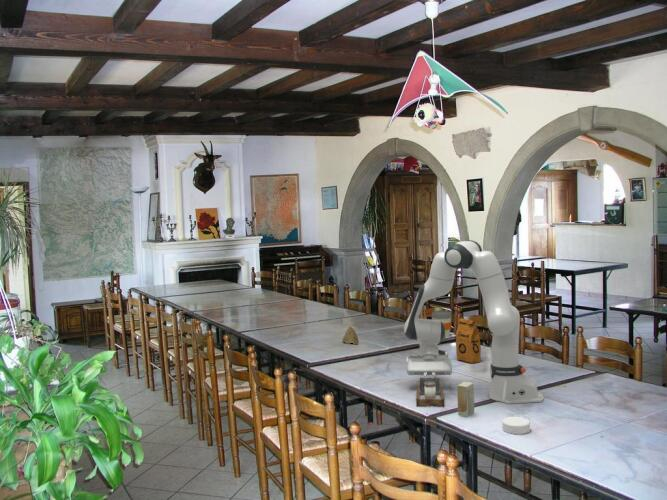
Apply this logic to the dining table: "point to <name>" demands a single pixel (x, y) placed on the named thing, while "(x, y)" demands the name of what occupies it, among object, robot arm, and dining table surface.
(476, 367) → the dining table surface
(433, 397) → the jar
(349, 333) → the rock
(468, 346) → the coffee package
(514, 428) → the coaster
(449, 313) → the reusable coffee cup
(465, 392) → the skincare box
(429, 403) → the brown wooden rectangular frame
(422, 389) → the bar
